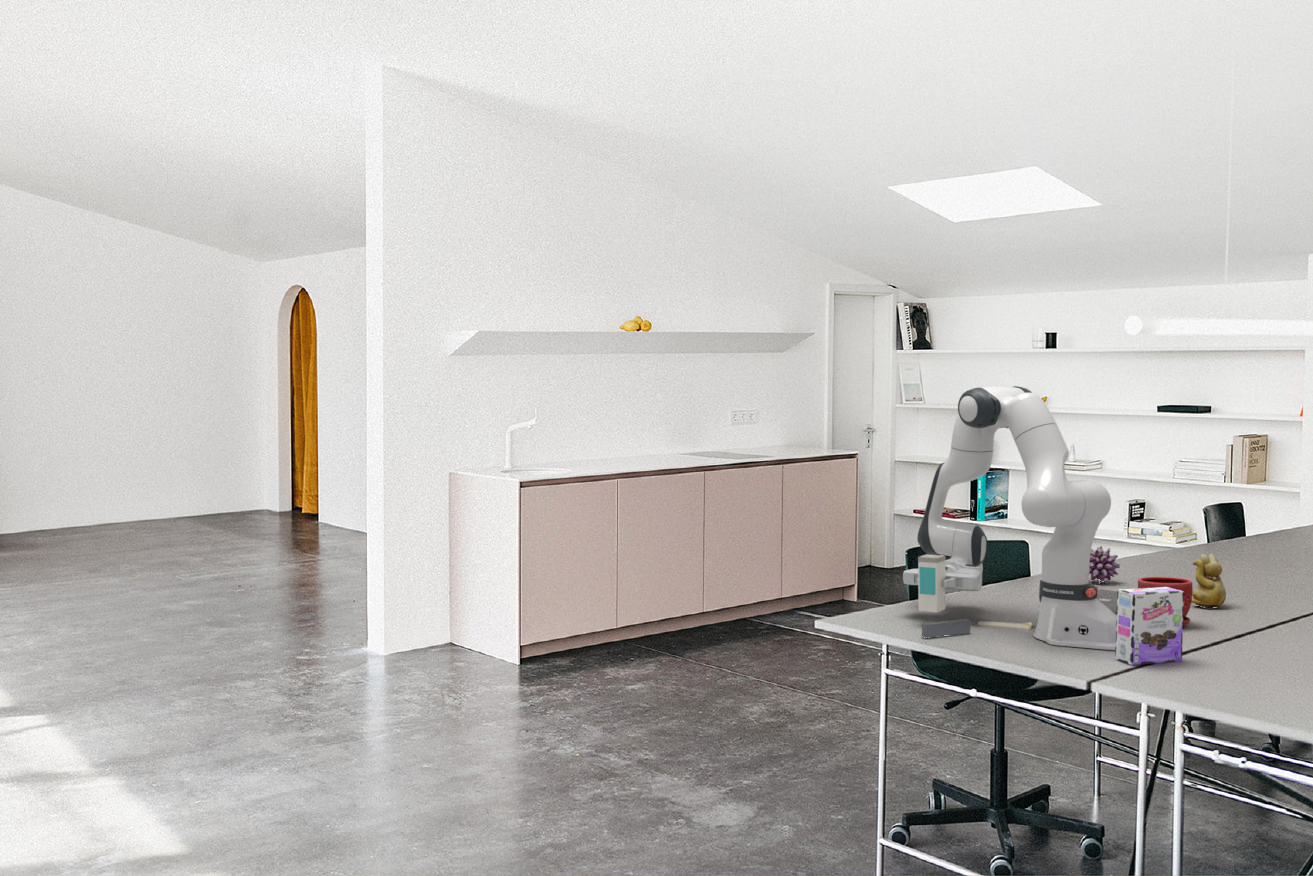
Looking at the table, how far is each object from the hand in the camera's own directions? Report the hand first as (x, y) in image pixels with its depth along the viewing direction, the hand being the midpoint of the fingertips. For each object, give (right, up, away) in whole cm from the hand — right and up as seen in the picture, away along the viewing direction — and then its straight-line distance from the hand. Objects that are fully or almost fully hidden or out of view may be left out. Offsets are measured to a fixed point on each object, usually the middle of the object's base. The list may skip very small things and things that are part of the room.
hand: (931, 583), depth 296 cm
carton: (0, -7, +1) cm, 7 cm away
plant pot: (+62, -11, +2) cm, 63 cm away
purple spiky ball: (+68, -8, +63) cm, 94 cm away
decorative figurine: (+85, -10, +25) cm, 89 cm away
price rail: (+1, -12, -11) cm, 16 cm away
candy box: (+41, -13, -37) cm, 56 cm away
